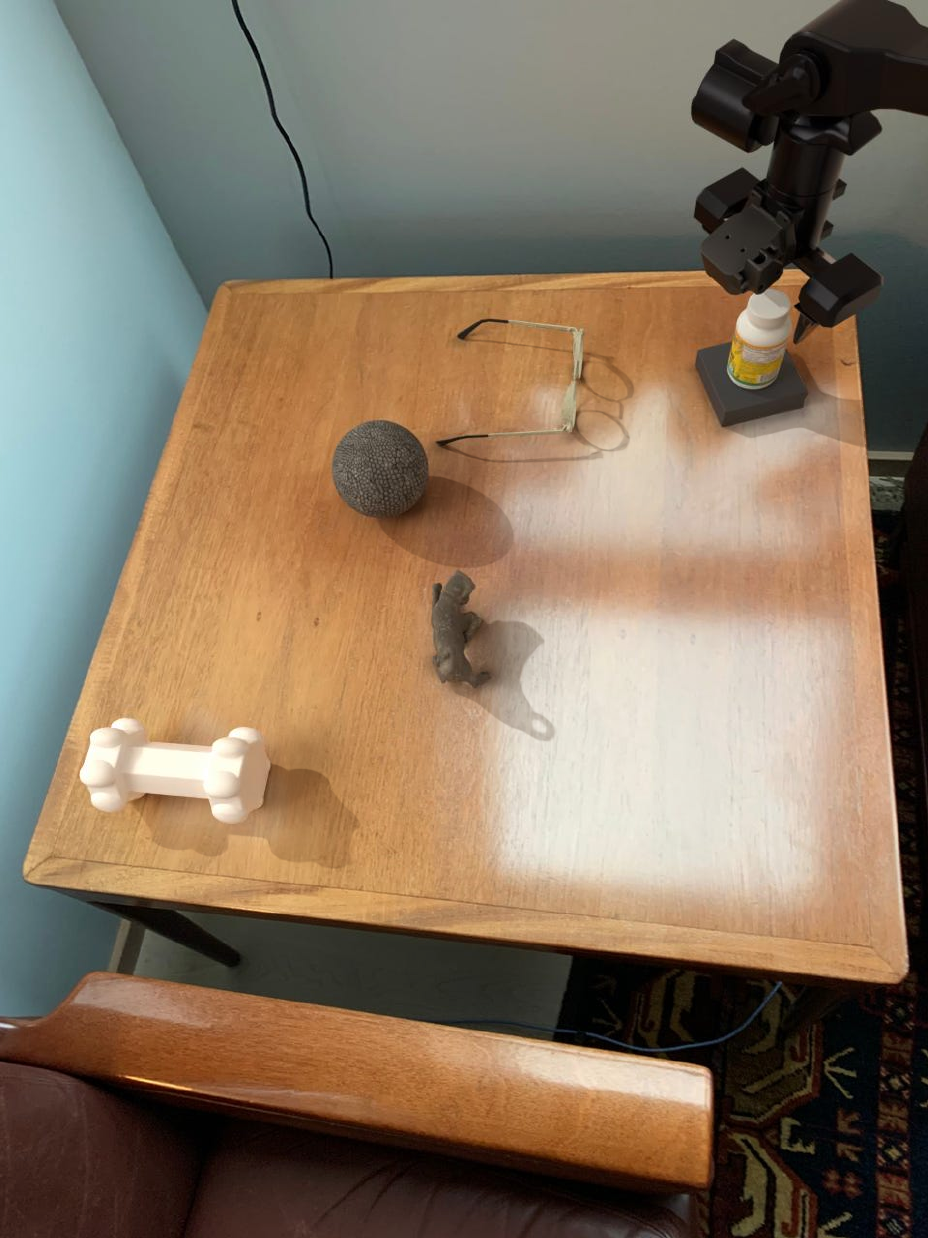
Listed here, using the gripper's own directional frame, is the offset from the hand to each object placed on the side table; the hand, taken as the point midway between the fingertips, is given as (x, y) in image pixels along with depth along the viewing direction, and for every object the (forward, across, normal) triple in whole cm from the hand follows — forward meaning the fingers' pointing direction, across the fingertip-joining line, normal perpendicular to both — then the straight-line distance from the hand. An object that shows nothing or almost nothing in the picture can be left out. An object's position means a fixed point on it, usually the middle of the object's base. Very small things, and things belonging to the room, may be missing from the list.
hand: (766, 313), depth 86 cm
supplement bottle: (+8, 0, 0) cm, 8 cm away
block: (+10, 0, 0) cm, 11 cm away
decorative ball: (+11, -11, -40) cm, 43 cm away
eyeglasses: (+11, -15, -21) cm, 28 cm away
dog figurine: (+11, +8, -42) cm, 44 cm away
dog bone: (+11, +6, -71) cm, 72 cm away
